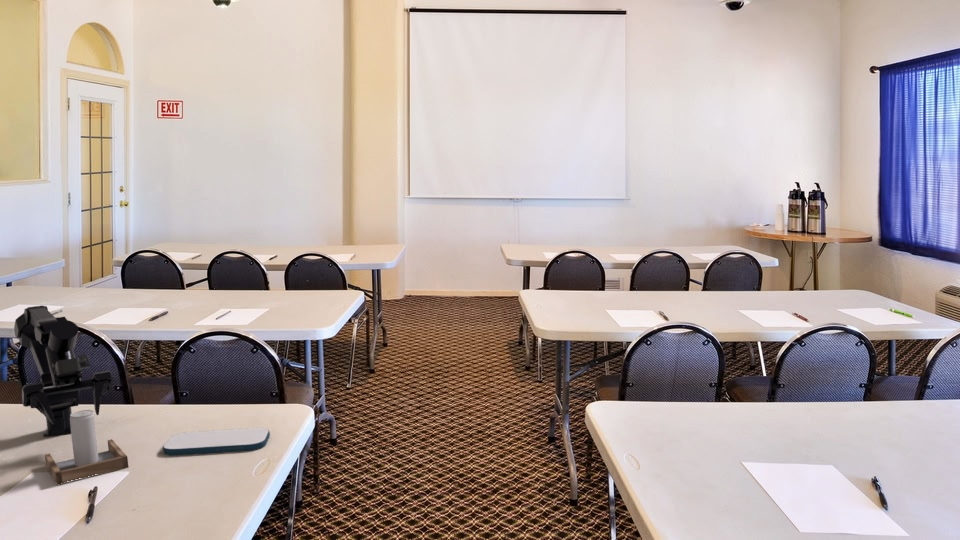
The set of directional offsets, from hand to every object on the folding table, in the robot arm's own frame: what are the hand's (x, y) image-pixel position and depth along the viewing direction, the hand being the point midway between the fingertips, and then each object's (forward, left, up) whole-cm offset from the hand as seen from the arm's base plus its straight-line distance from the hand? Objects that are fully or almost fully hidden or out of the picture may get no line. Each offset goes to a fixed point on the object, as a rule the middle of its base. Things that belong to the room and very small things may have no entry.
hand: (76, 418), depth 169 cm
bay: (+8, +3, -9) cm, 12 cm away
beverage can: (+8, +3, -9) cm, 12 cm away
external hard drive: (+4, +31, -10) cm, 32 cm away
